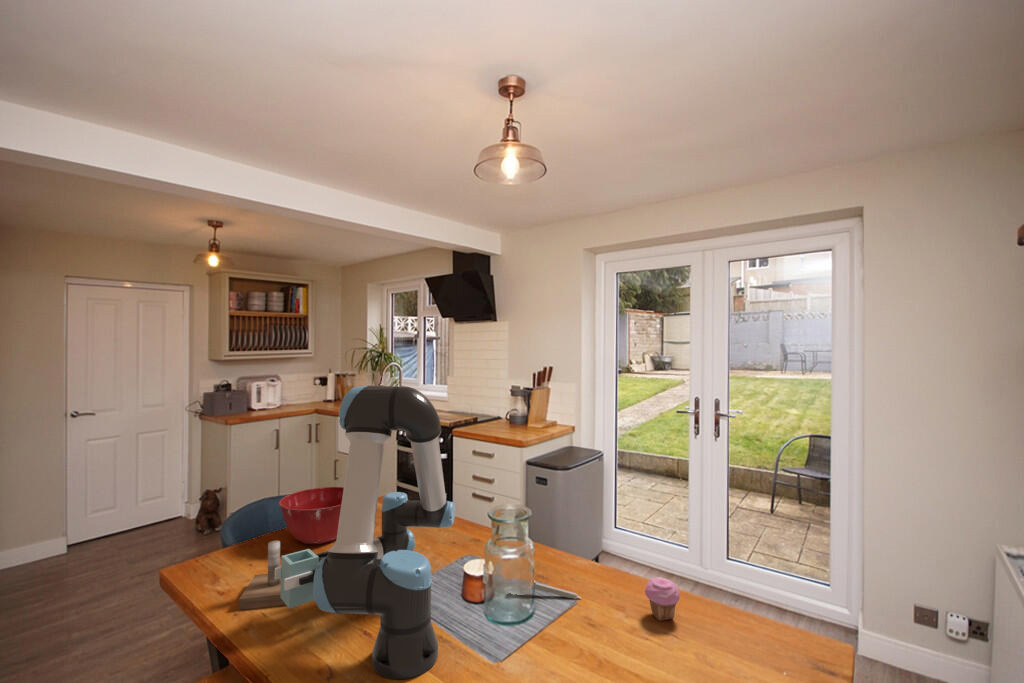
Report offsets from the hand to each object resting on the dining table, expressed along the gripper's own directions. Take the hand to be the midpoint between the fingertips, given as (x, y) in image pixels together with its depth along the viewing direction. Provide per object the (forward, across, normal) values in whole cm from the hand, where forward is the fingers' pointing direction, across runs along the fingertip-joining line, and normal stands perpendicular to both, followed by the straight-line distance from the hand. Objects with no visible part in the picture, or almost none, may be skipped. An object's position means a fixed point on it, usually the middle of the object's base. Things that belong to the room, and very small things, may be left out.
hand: (279, 579), depth 123 cm
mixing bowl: (-30, +52, -12) cm, 61 cm away
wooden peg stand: (-4, +19, -12) cm, 23 cm away
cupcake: (-79, -63, -12) cm, 102 cm away
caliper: (-63, -35, -12) cm, 73 cm away
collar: (-5, 0, -6) cm, 8 cm away
